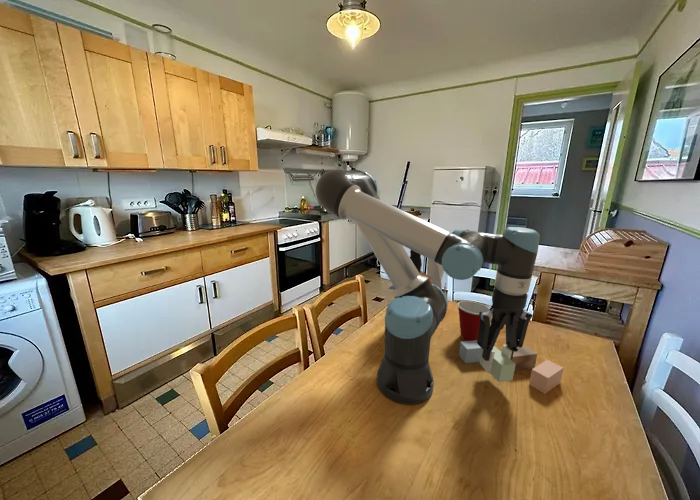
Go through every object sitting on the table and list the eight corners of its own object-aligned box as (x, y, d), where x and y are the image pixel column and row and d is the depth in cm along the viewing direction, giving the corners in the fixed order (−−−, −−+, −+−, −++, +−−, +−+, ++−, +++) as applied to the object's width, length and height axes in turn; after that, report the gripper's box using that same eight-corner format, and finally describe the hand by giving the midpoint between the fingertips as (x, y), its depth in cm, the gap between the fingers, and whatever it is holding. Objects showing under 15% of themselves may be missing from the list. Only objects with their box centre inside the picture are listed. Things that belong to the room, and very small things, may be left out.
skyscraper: (440, 319, 113) (446, 251, 105) (420, 314, 117) (425, 248, 109) (445, 310, 120) (451, 246, 112) (426, 306, 124) (431, 243, 116)
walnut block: (510, 371, 82) (513, 356, 81) (501, 363, 86) (503, 348, 85) (534, 368, 84) (537, 353, 83) (524, 360, 88) (526, 345, 86)
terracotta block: (544, 394, 74) (548, 378, 73) (528, 384, 77) (531, 369, 76) (560, 383, 78) (563, 367, 77) (544, 374, 81) (547, 359, 80)
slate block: (465, 363, 86) (467, 349, 85) (458, 355, 90) (460, 341, 89) (489, 361, 87) (492, 347, 86) (482, 353, 91) (484, 339, 90)
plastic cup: (494, 341, 97) (499, 309, 94) (470, 349, 93) (475, 316, 90) (469, 326, 107) (473, 297, 103) (447, 333, 102) (450, 302, 99)
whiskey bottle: (392, 324, 108) (395, 242, 100) (409, 316, 114) (414, 239, 106) (413, 336, 100) (419, 248, 92) (430, 327, 106) (437, 244, 98)
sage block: (512, 380, 74) (515, 363, 73) (498, 382, 73) (502, 365, 72) (491, 361, 81) (494, 345, 80) (479, 362, 81) (481, 347, 79)
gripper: (487, 297, 66) (472, 381, 73) (553, 295, 68) (533, 376, 75) (470, 284, 73) (458, 361, 80) (531, 283, 76) (514, 358, 82)
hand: (494, 368), depth 77 cm, fingers closed on sage block, 4 cm apart
